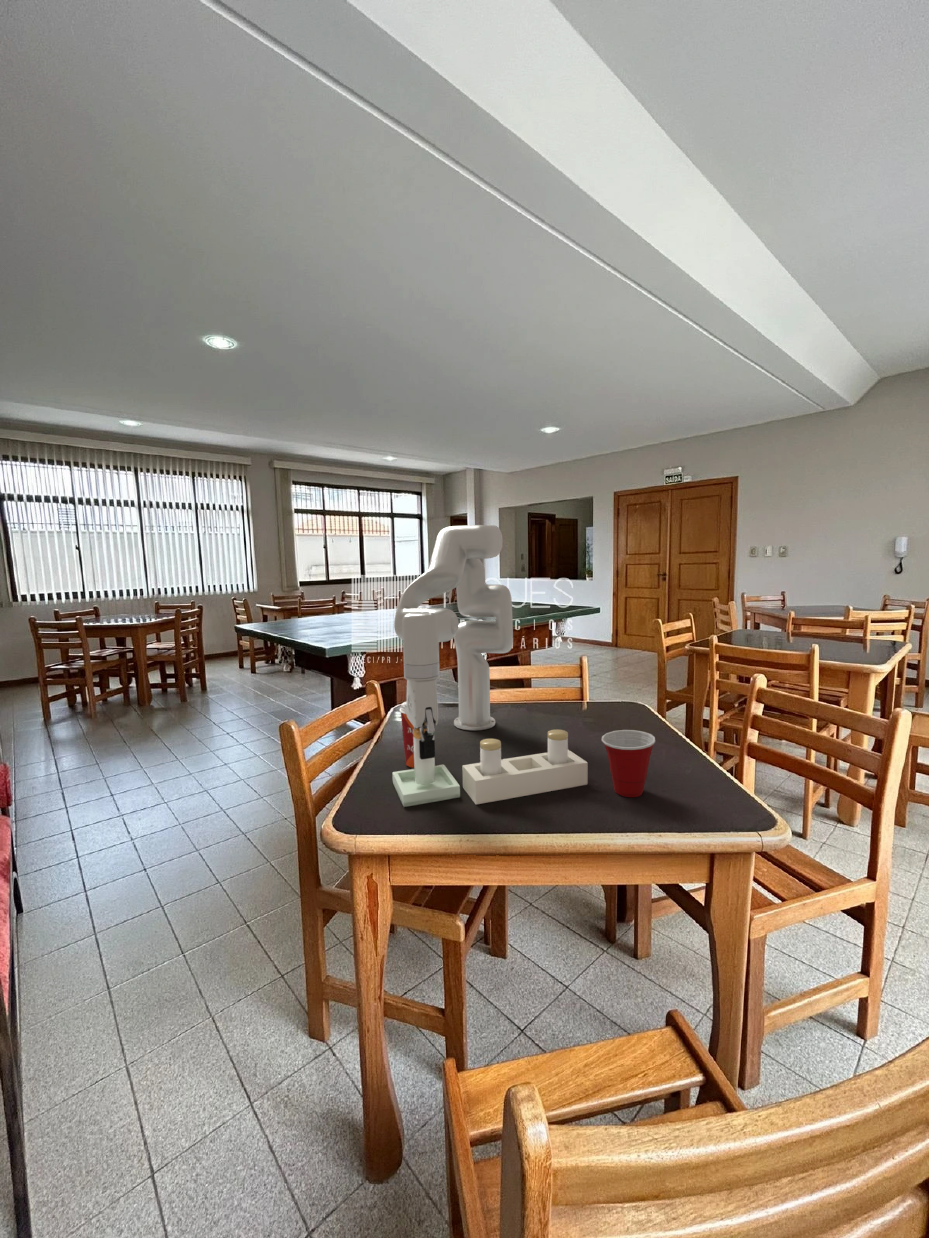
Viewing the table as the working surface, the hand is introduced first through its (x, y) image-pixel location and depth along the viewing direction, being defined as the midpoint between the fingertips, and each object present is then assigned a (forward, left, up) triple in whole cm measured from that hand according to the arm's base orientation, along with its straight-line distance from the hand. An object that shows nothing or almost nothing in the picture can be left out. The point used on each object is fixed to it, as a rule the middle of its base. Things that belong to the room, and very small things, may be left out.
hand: (424, 752), depth 108 cm
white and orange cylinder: (0, 0, -6) cm, 6 cm away
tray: (0, 0, -8) cm, 8 cm away
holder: (+6, +21, -8) cm, 23 cm away
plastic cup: (+16, +40, -9) cm, 44 cm away
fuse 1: (+6, +13, -8) cm, 17 cm away
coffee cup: (-15, +2, -9) cm, 17 cm away
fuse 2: (+6, +29, -8) cm, 31 cm away
